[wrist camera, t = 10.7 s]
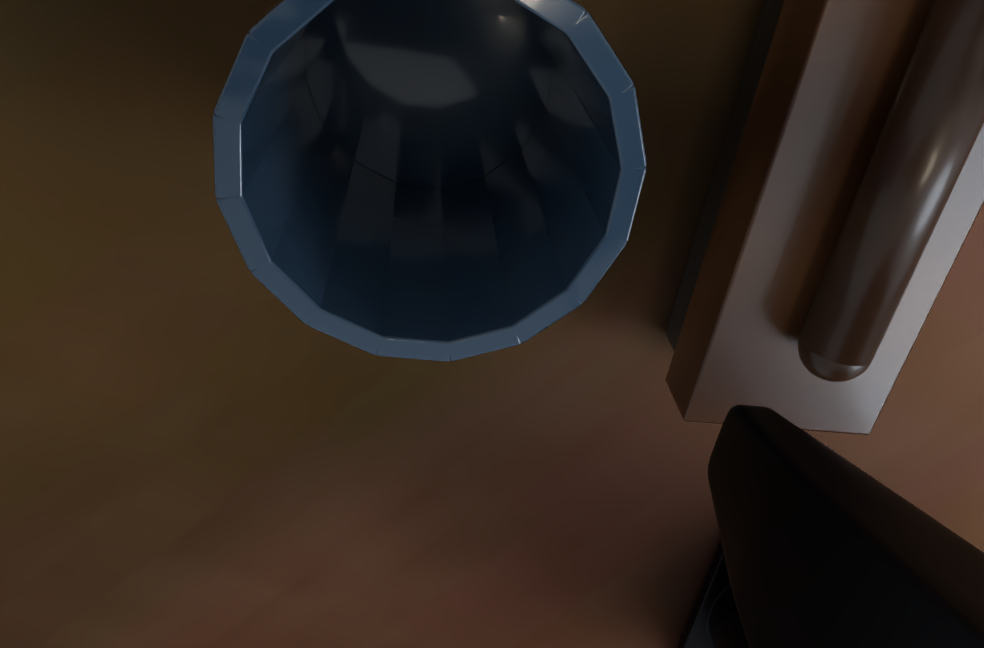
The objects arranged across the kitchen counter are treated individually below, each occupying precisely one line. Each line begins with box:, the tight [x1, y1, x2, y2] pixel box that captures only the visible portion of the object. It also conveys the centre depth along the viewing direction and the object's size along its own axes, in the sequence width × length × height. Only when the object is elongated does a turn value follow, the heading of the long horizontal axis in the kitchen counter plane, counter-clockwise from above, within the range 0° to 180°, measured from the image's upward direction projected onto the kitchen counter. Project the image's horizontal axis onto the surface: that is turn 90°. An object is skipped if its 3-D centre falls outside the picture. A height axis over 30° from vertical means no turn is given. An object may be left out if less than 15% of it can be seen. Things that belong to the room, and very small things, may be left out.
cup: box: [212, 0, 647, 362], centre depth 15 cm, size 6×6×8 cm
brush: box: [666, 0, 984, 435], centre depth 17 cm, size 14×5×5 cm, turn 171°
